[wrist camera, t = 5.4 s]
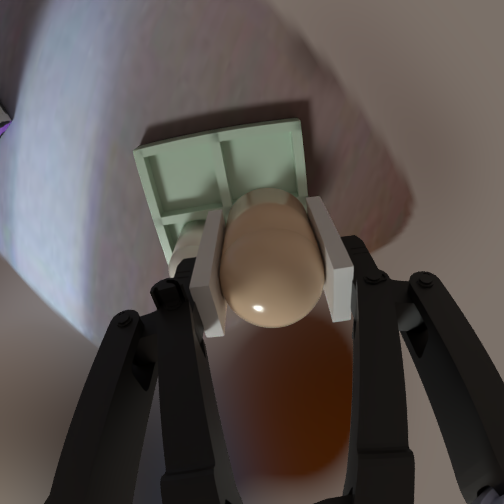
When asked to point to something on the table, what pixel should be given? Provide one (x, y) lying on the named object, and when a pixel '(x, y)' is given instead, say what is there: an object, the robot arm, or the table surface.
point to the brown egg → (270, 259)
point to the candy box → (4, 120)
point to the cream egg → (186, 244)
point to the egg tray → (218, 172)
